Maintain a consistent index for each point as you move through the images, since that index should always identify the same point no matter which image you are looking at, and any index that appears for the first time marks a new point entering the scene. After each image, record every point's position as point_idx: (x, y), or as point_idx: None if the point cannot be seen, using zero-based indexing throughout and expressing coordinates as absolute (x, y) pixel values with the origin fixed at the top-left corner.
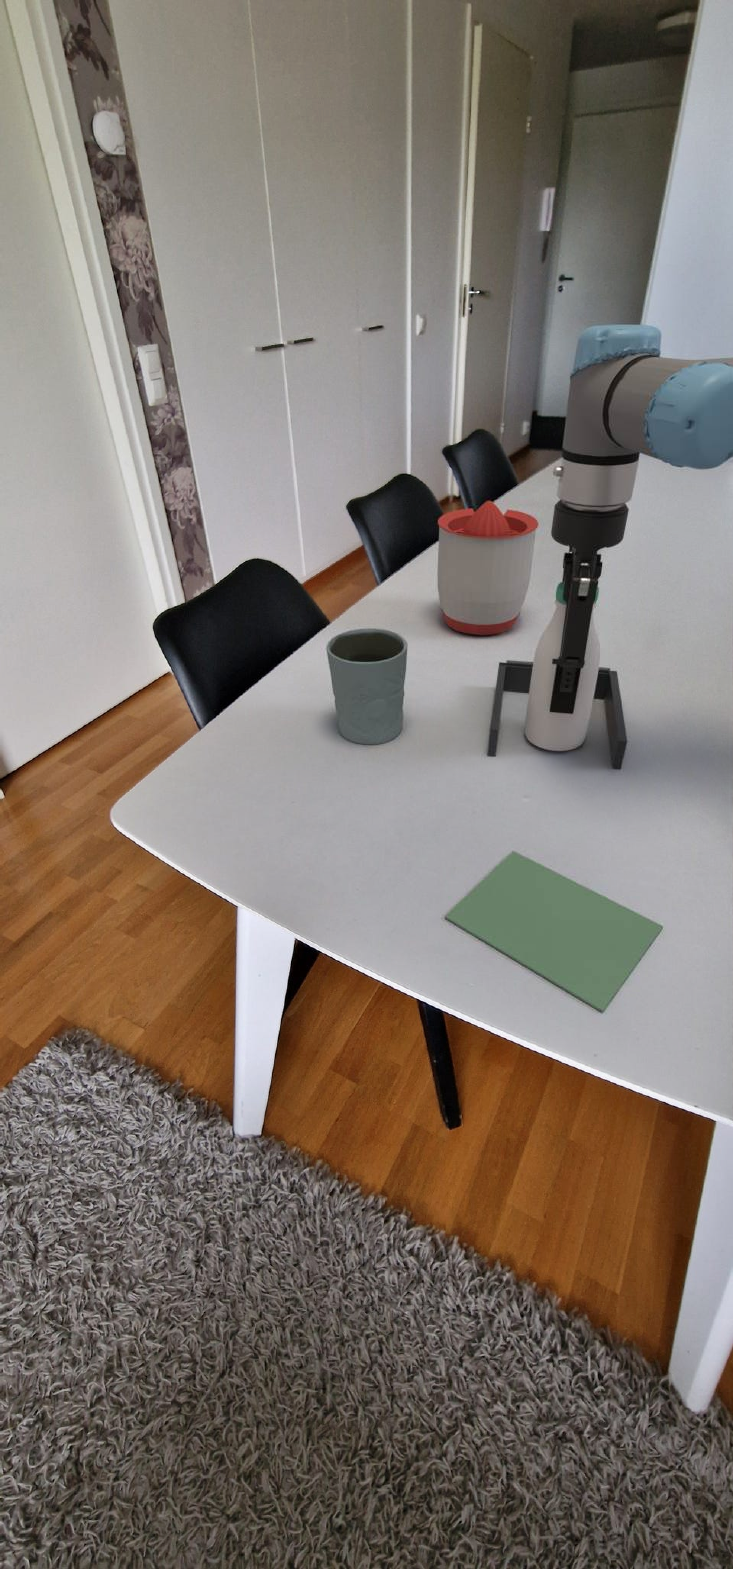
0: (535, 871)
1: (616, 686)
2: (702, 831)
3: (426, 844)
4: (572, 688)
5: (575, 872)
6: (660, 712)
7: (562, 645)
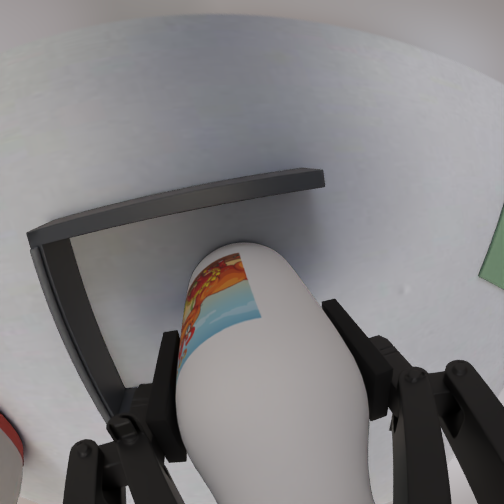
0: (498, 249)
1: (88, 221)
2: (408, 62)
3: (467, 348)
4: (389, 341)
5: (491, 211)
6: (75, 123)
7: (450, 442)
